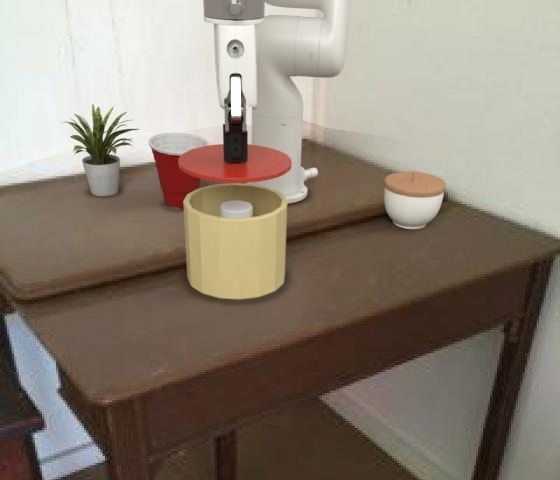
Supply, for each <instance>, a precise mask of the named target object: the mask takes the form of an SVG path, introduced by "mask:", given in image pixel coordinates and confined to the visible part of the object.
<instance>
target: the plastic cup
mask: <svg viewBox="0 0 560 480" xmlns="http://www.w3.org/2000/svg"><path fill="white" fill-rule="evenodd" d="M209 145H210V143H209V142H208V141H207V140H206V139H205V138H203V137H201V136H198V135H195V134H190V133H182V132H163V133H160V134H155V135H153V136H151V137H149V139H148V146H149V147H150V149H151V152H152V155H153V160H154V162H155V163H154V164H155V167H156V170H157V176H158V180H159V184H160V185H159V186H160V189H161V191H162V197H163V200H164V203H165V204H166V205H167V206H169V207H173V208H178V209H179V210H181V211H184V205H183V201H184V199H185V197H186V196H187V194H189V193H191V192H193V191H194V190H196V189H198V188H200V185H201V179H199V178H196V177H193V176H190V175H188V174H186V173H184V172H183V171H182V170H181V169H180V168H179V164H178V160H179V157H180V156H181V155H182V154H184V153H185V152H187V151H189V150H192V149H195V148H199V147H203V146H209Z"/></svg>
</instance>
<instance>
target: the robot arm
mask: <svg viewBox="0 0 560 480" xmlns="http://www.w3.org/2000/svg"><path fill="white" fill-rule="evenodd" d="M351 1H352V0H203V1H202V2H203V3H202V5H203V6H202V7H203V21H204V22H206V23H208V24H213V47H214V65H215V66H214V67H215V68H214V69H215V80H216V88H217V89H216V90H217V97H218V101H219V102H218V103H219V107H220V108H221V109H223V110H224V123H222V141H223V142H222V144H223V151H224V161H225V162H246V161H247V160H248V142H249V141H248V139H249V137H248V136H249V135H248V134H249V131H248V130H247V107H251V145H257V146H263V147H268V148H272V149H275V150H278V151H281V152H283V153H285V154H286V155H288V156H289V157H290V158H291V161H292V167H291V169H290V170H289V172H287V173H286V174H284V175H282V176H280V177H277V178H273V179H270V180H265V181H259V182H248V183H246V184H254V185H259V186H264V187H268V188H271V189H273V190H276V191H278V192H280V193H282V194H283V195H284V196H285V198H286V199H287V200H288V202H287V205H290V204H294V203H295V204H296V203H298V202H301V201H303V200H304V199H306V198H307V196H308V190H309V189H308V187H307V186H306V185H305V182H306V181H307V180H309V179H313V178H317V177H318V175H319V171H318V168H316V167H310V168H307V169H305V168H304V167H303V166H302V147H303V146H302V145H303V144H302V143H303V121H304V100H303V96H302V94H301V91H300V90H299V88H298V87H297V85H296V84H295V82H294V81H293V79H292V77H305V78H306V77H307V78H325V79H327V78H328V79H330V78H335V77H337V76H339V75H340V74H341V72H342V71H343V69H344V67H345V63H346V58H347V49H348V38H349V27H350V25H349V24H350V13H351V12H350V11H351ZM266 4H267V5H269V6H272V7H278V8H285V9H286V8H287V9H303V10H304V9H306V10H307V9H308V10H319V11H320V12H321V13H322V14H323V17H319V16H318V17H317V16H300V15H285V14H280V15H279V14H268V15H266V13H265V12H266V10H265V7H266V6H265V5H266Z"/></svg>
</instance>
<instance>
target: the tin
mask: <svg viewBox="0 0 560 480" xmlns="http://www.w3.org/2000/svg"><path fill="white" fill-rule="evenodd" d="M233 200H240V201H245V202H248V203H250V204H251V205H252V208H253V214H252V217H247V218H227V217H221V215H220V205H221V204H222V203H224V202H227V201H233ZM287 202H288V200H287V199H286V198H285V196H284V195H283V194H282V193H280V192H278V191H276V190H273V189H271V188H268V187H264V186H259V185H254V184H247V183H216V184H211V185H207V186H202V187H199V188H198V189H196V190H194V191H193V192H191V193H189V194H187V196H186V197H185V199H184V201H183V205H184V210H183V222H184V240H185V259H186V260H185V261H186V277H187V278H186V279H187V280H188V282H189V284H190V286H191V288H193V289H195V290H196V291H198V292H200V293H201V294H203V295H207V296H211V297H214V298H217V299H226V300H227V299H228V300H229V299H230V300H246V299H254V298H259V297H263V296H266V295H268V294H271V293H273V292H274V293H275V292H276V291H277V290H278V289H279V288H280V287H281V286H282V285H284V283H285V278H286V261H287V260H286V256H287V230H288V229H287V228H288V204H287Z"/></svg>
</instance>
